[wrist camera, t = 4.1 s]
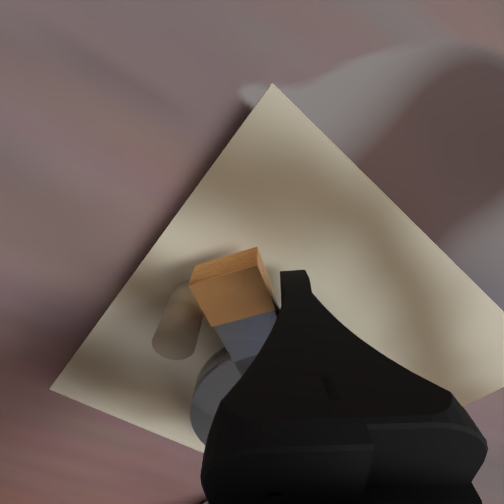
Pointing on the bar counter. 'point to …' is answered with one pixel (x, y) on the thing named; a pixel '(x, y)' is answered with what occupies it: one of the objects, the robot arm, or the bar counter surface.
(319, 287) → the base
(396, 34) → the bar counter surface
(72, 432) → the bar counter surface
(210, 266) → the flange
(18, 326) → the bar counter surface
